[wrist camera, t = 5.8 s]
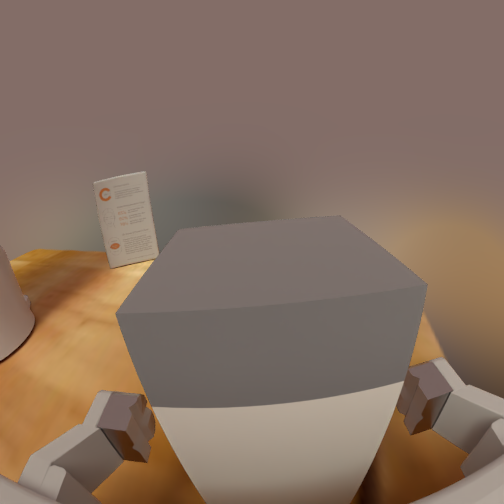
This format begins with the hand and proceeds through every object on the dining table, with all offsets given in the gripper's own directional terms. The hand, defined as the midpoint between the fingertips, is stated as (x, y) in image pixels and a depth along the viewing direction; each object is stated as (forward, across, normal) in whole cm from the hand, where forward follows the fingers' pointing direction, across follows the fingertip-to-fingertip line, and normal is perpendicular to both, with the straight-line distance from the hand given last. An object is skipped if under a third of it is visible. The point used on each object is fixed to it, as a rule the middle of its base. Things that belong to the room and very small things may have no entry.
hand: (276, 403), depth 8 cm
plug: (0, 0, -7) cm, 7 cm away
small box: (+36, -19, -7) cm, 41 cm away
